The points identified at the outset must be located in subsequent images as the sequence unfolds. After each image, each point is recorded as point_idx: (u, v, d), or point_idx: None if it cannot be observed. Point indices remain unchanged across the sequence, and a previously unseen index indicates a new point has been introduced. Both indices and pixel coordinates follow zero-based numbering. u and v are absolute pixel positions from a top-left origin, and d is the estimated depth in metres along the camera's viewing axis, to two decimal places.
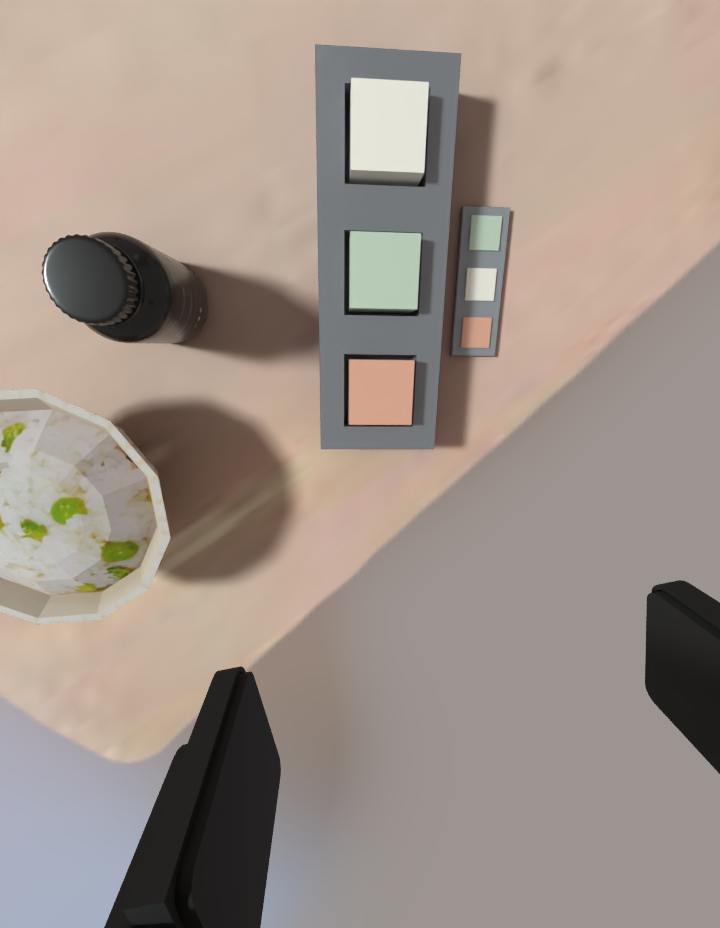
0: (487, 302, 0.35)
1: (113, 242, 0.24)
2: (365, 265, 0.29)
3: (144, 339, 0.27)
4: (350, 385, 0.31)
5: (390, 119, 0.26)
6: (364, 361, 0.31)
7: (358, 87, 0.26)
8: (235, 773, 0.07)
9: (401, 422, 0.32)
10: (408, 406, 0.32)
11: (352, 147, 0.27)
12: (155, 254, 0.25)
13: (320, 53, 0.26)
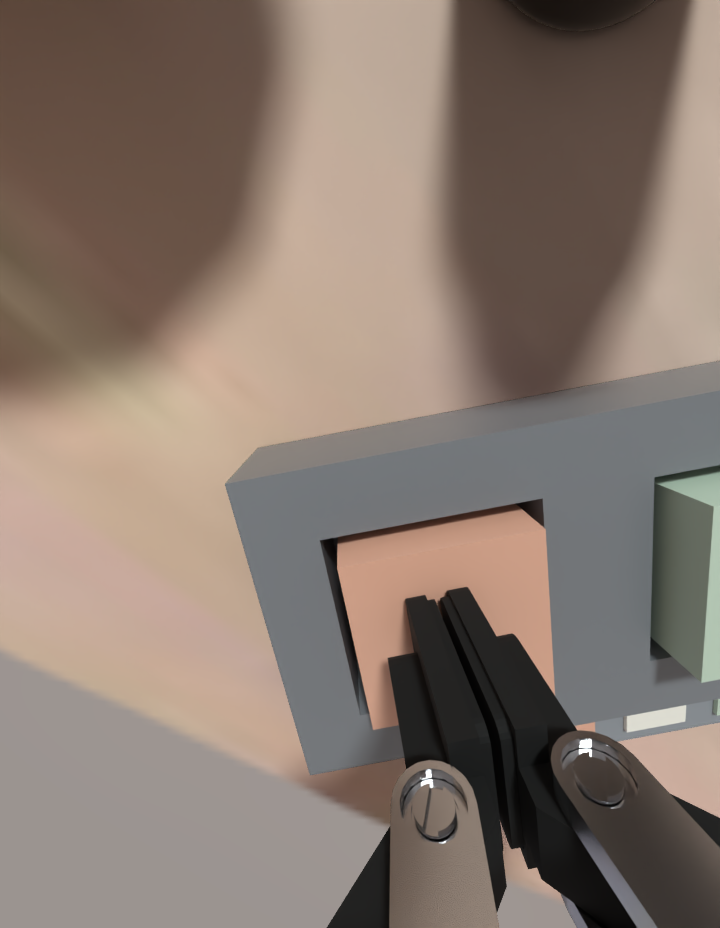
0: (620, 720, 0.17)
1: None
2: None
3: None
4: (465, 547, 0.10)
5: None
6: (542, 572, 0.10)
7: None
8: None
9: (375, 705, 0.11)
10: None
11: None
12: None
13: None
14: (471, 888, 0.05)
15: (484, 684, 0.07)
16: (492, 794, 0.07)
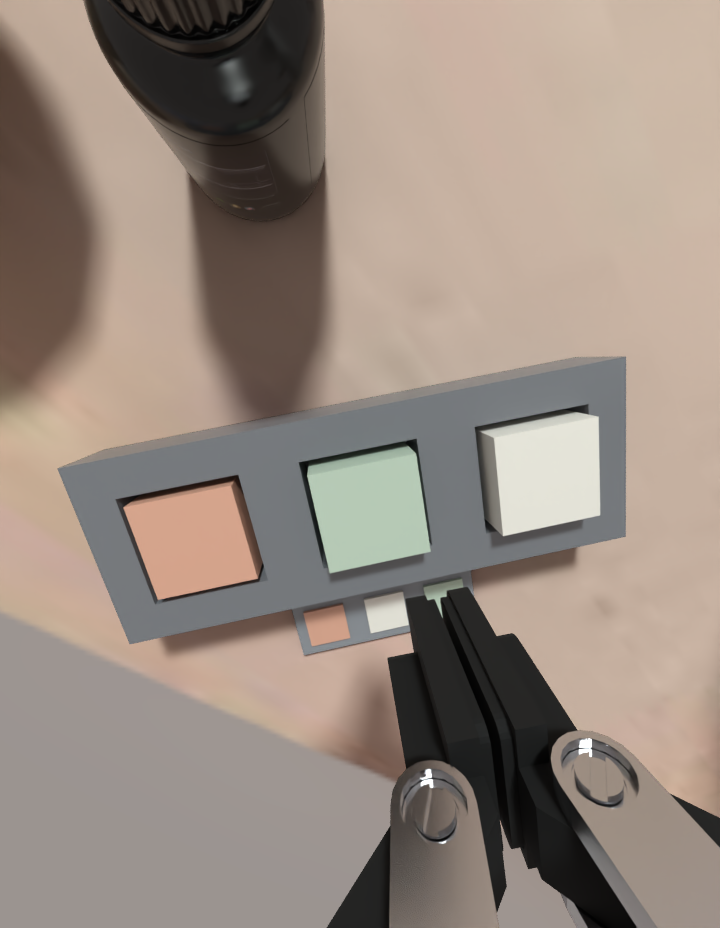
0: (367, 626, 0.26)
1: None
2: (373, 485, 0.18)
3: (111, 66, 0.11)
4: (190, 495, 0.19)
5: (557, 477, 0.19)
6: (234, 508, 0.19)
7: (588, 428, 0.19)
8: None
9: (156, 584, 0.20)
10: (185, 588, 0.20)
11: (520, 435, 0.19)
12: (300, 95, 0.12)
13: (617, 365, 0.19)
14: (471, 888, 0.05)
15: (484, 684, 0.07)
16: (492, 794, 0.07)
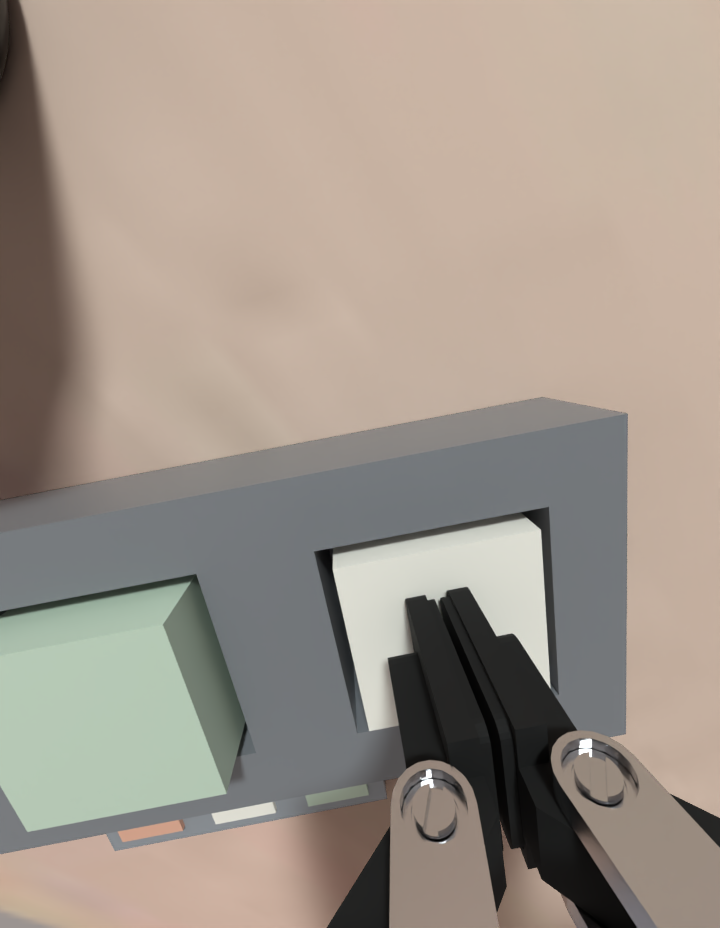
0: None
1: None
2: (82, 684, 0.09)
3: None
4: None
5: None
6: None
7: (521, 551, 0.10)
8: None
9: None
10: None
11: (385, 564, 0.10)
12: None
13: (608, 432, 0.09)
14: (471, 888, 0.05)
15: (484, 684, 0.07)
16: (492, 794, 0.07)
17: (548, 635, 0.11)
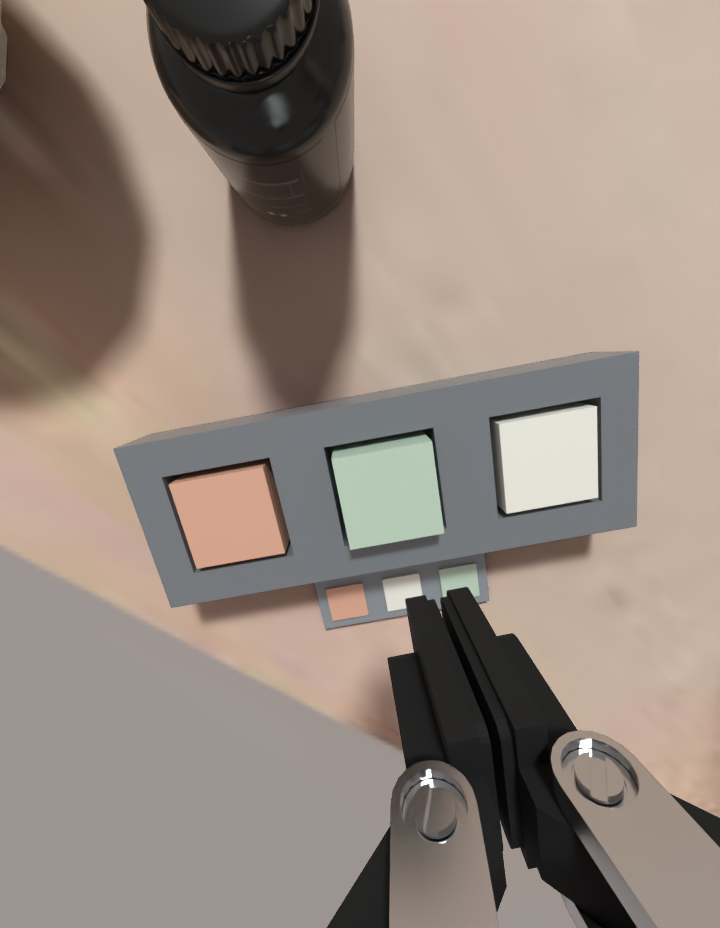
0: (384, 604, 0.28)
1: (329, 18, 0.12)
2: (392, 470, 0.20)
3: (171, 101, 0.13)
4: (226, 475, 0.21)
5: (558, 461, 0.21)
6: (265, 488, 0.21)
7: (587, 417, 0.21)
8: None
9: (195, 555, 0.22)
10: (221, 559, 0.22)
11: (523, 422, 0.21)
12: (331, 119, 0.14)
13: (630, 360, 0.20)
14: (471, 888, 0.05)
15: (484, 684, 0.07)
16: (492, 794, 0.07)
17: None
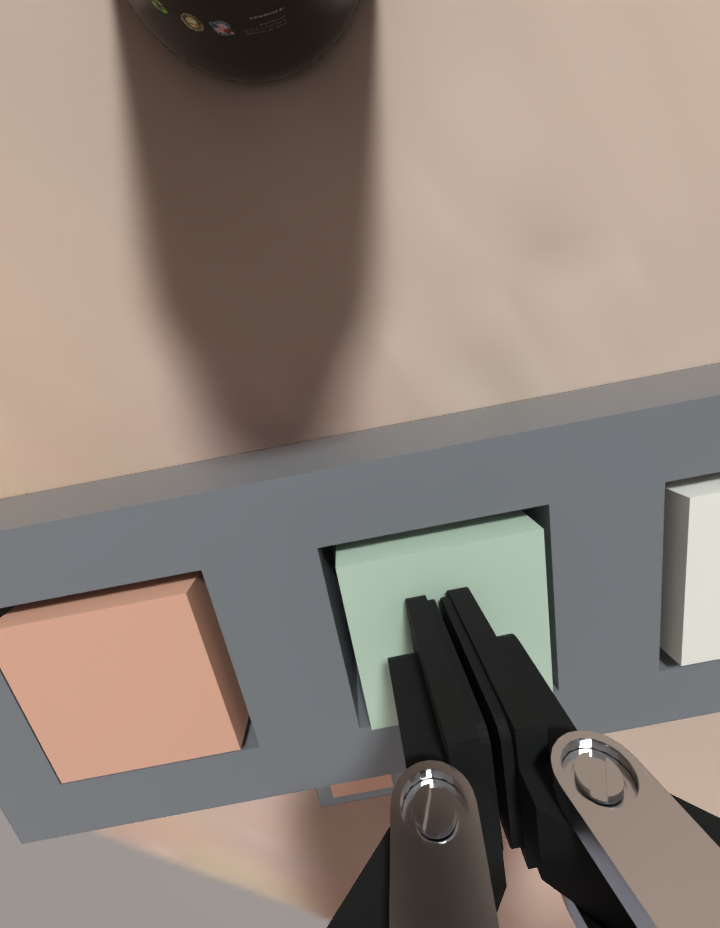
0: None
1: None
2: (459, 586, 0.10)
3: None
4: (108, 611, 0.10)
5: None
6: (194, 633, 0.10)
7: None
8: None
9: (57, 760, 0.11)
10: (110, 765, 0.11)
11: None
12: None
13: None
14: (471, 888, 0.05)
15: (484, 684, 0.07)
16: (492, 794, 0.07)
17: None
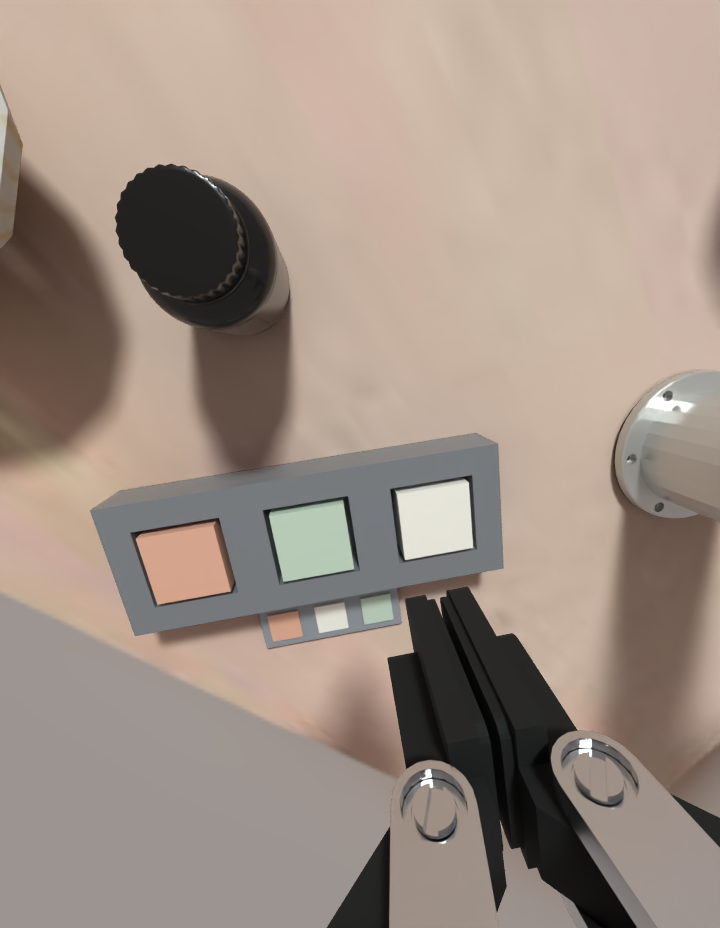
0: (316, 627, 0.34)
1: (257, 256, 0.18)
2: (314, 523, 0.27)
3: (147, 290, 0.19)
4: (183, 531, 0.26)
5: (442, 522, 0.28)
6: (215, 541, 0.27)
7: (462, 490, 0.28)
8: None
9: (156, 593, 0.27)
10: (178, 596, 0.28)
11: (415, 493, 0.27)
12: (261, 306, 0.20)
13: (491, 449, 0.27)
14: (471, 888, 0.05)
15: (484, 684, 0.07)
16: (492, 794, 0.07)
17: (473, 526, 0.29)
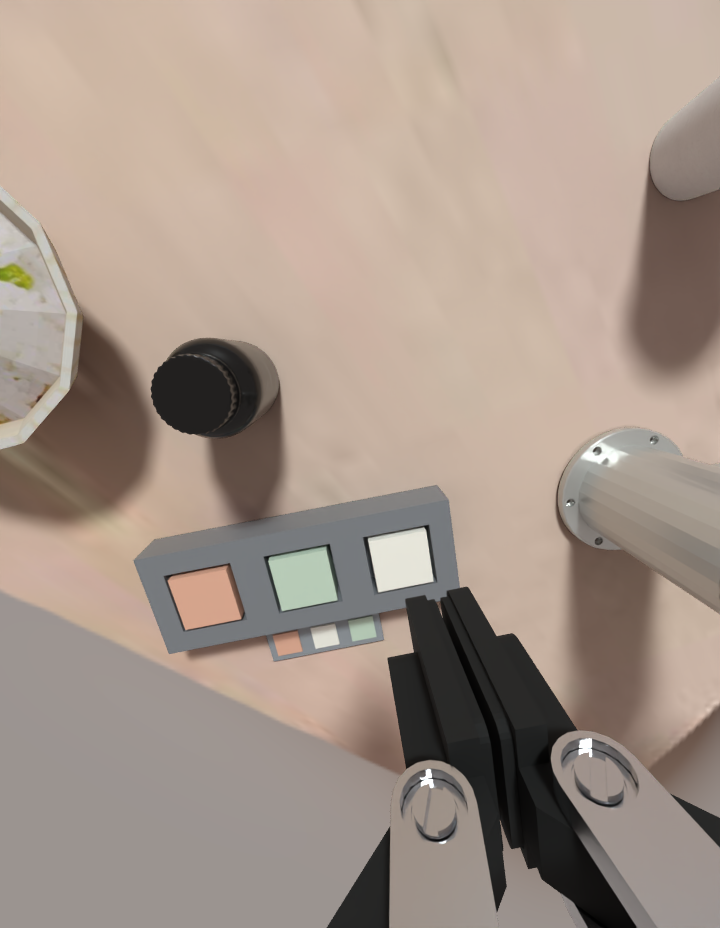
0: (313, 644, 0.41)
1: (247, 392, 0.26)
2: (304, 566, 0.35)
3: None
4: (203, 574, 0.34)
5: (406, 562, 0.35)
6: (228, 581, 0.35)
7: (421, 536, 0.35)
8: None
9: (184, 621, 0.35)
10: (200, 623, 0.36)
11: (383, 540, 0.34)
12: (252, 420, 0.27)
13: (443, 504, 0.34)
14: (471, 888, 0.05)
15: (484, 684, 0.07)
16: (492, 794, 0.07)
17: (434, 563, 0.36)
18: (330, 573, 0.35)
